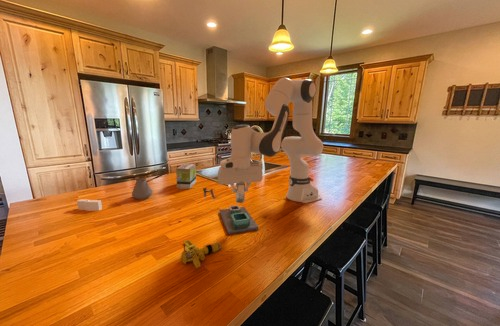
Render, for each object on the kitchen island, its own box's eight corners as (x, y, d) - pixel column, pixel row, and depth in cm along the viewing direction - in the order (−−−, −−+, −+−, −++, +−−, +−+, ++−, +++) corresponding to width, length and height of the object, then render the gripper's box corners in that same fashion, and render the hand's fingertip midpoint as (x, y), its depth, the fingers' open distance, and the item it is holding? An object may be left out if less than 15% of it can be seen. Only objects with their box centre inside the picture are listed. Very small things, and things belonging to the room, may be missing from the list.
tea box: (190, 189, 143) (189, 168, 140) (176, 188, 143) (175, 168, 140) (196, 182, 158) (195, 163, 154) (183, 182, 158) (182, 163, 154)
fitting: (243, 199, 96) (243, 178, 94) (245, 202, 92) (246, 181, 90) (234, 200, 95) (235, 179, 93) (237, 203, 91) (237, 181, 89)
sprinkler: (230, 248, 72) (188, 264, 63) (230, 259, 72) (189, 276, 64) (207, 231, 88) (171, 241, 79) (208, 240, 88) (172, 251, 80)
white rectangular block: (108, 209, 111) (106, 199, 109) (82, 217, 101) (80, 206, 100) (97, 202, 119) (95, 193, 118) (72, 209, 110) (70, 199, 108)
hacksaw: (203, 189, 144) (203, 187, 144) (218, 188, 147) (218, 186, 146) (204, 203, 121) (204, 200, 121) (222, 201, 124) (222, 199, 124)
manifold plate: (244, 209, 113) (244, 201, 112) (258, 229, 93) (258, 220, 92) (219, 212, 109) (219, 204, 108) (228, 234, 88) (228, 225, 87)
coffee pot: (130, 201, 120) (127, 177, 116) (133, 195, 130) (131, 172, 127) (169, 197, 127) (167, 174, 124) (169, 191, 138) (168, 169, 134)
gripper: (260, 159, 96) (259, 187, 99) (216, 161, 89) (217, 191, 92) (265, 162, 90) (264, 192, 93) (219, 164, 83) (219, 196, 86)
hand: (240, 191), depth 92 cm, fingers closed on fitting, 4 cm apart
